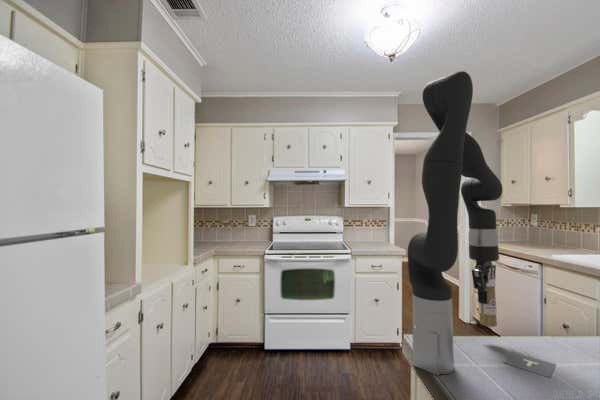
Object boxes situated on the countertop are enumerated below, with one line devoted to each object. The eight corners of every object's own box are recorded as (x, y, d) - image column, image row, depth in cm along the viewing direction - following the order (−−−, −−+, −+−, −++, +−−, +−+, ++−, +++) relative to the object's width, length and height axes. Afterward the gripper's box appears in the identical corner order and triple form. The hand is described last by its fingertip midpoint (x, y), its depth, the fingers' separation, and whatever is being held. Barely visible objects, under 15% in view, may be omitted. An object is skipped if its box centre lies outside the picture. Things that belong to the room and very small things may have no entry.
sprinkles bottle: (493, 328, 81) (490, 280, 82) (476, 323, 85) (474, 278, 85) (500, 325, 83) (498, 278, 84) (483, 320, 87) (481, 276, 88)
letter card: (549, 377, 66) (549, 377, 66) (503, 362, 73) (503, 362, 73) (556, 364, 72) (556, 364, 72) (512, 351, 79) (512, 351, 79)
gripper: (477, 241, 93) (479, 294, 92) (460, 244, 84) (462, 303, 83) (504, 243, 87) (507, 299, 86) (490, 246, 78) (492, 310, 77)
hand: (485, 301), depth 85 cm, fingers closed on sprinkles bottle, 4 cm apart
